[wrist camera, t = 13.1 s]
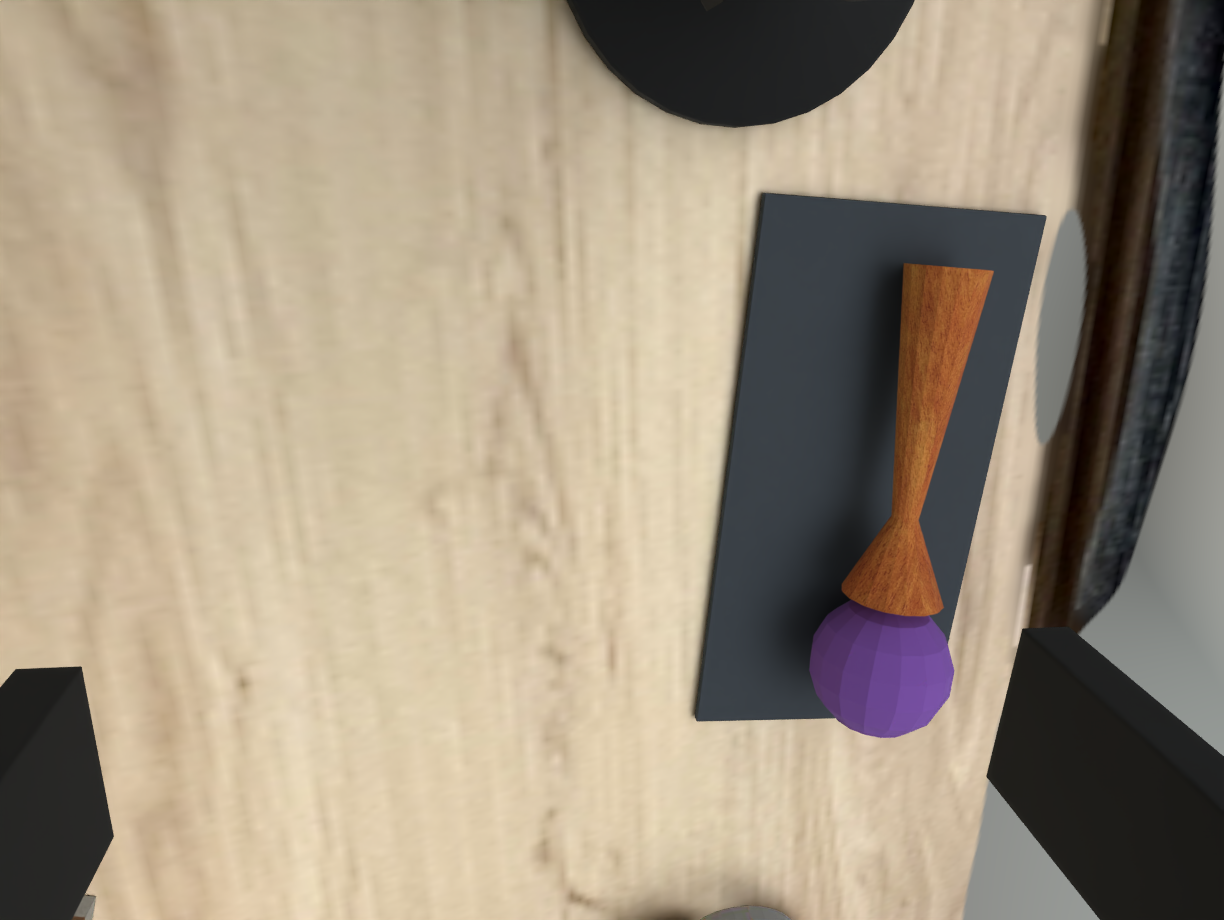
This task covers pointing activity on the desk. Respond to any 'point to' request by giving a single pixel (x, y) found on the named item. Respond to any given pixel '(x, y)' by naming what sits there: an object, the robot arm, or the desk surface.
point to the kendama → (903, 529)
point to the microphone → (739, 52)
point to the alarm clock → (747, 914)
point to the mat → (843, 429)
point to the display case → (85, 909)
